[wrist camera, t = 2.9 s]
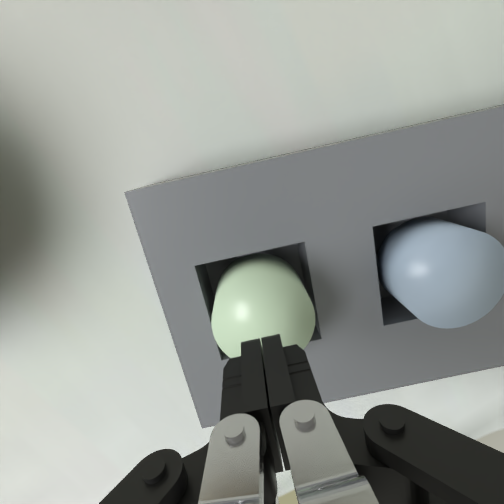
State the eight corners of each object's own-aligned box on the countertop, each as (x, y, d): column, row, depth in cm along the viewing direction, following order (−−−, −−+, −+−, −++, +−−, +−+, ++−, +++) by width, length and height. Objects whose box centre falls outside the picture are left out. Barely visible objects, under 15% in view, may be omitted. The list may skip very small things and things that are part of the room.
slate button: (461, 207, 17) (510, 219, 14) (463, 290, 18) (508, 316, 15) (371, 227, 17) (401, 243, 14) (380, 307, 18) (409, 337, 15)
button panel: (630, 75, 18) (737, 53, 14) (606, 298, 22) (684, 328, 18) (148, 185, 19) (124, 192, 15) (208, 382, 23) (201, 428, 19)
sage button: (294, 244, 17) (306, 263, 14) (308, 323, 18) (322, 356, 15) (206, 264, 17) (199, 286, 14) (227, 340, 19) (225, 376, 15)
